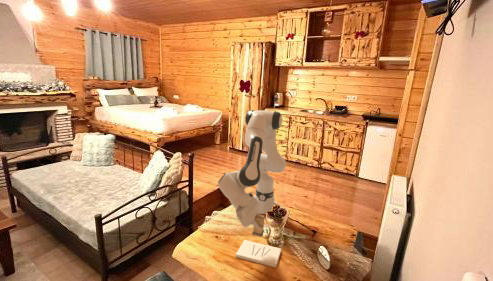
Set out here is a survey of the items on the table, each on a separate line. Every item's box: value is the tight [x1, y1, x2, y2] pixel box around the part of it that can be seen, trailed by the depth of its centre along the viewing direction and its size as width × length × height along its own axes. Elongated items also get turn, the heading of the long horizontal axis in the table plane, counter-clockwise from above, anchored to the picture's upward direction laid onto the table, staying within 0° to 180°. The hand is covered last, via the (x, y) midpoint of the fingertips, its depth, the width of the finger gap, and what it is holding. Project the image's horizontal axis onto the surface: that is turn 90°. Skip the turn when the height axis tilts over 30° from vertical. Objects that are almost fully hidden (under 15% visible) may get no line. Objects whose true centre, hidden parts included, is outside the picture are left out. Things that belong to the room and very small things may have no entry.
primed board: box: [235, 239, 282, 268], centre depth 128 cm, size 13×20×2 cm, turn 72°
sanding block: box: [252, 214, 265, 238], centre depth 125 cm, size 5×5×9 cm
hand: (260, 224), depth 125 cm, fingers closed on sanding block, 4 cm apart
